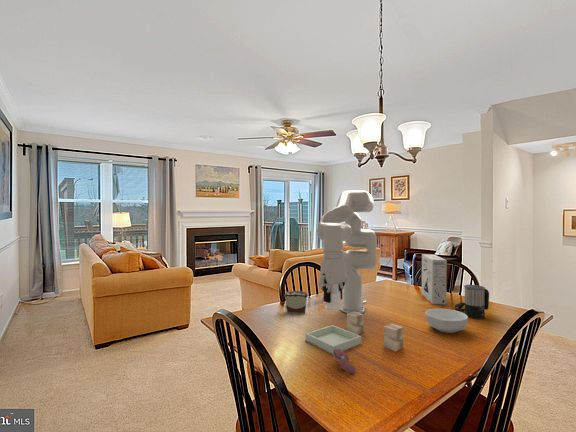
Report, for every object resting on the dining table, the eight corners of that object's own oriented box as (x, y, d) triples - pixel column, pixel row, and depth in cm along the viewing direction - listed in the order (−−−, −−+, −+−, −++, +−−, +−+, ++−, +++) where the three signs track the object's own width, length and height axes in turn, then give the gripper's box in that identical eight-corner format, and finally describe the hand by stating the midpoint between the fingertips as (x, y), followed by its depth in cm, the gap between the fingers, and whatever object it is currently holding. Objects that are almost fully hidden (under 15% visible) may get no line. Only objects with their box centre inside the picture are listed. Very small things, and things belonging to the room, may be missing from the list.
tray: (332, 331, 138) (332, 324, 138) (361, 343, 126) (361, 336, 126) (305, 340, 129) (305, 333, 129) (333, 354, 116) (333, 346, 116)
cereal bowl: (434, 320, 153) (434, 305, 152) (472, 329, 141) (473, 313, 141) (419, 329, 141) (419, 313, 140) (460, 340, 129) (460, 323, 129)
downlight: (345, 306, 129) (344, 281, 129) (342, 311, 122) (341, 285, 122) (325, 305, 132) (324, 281, 132) (321, 310, 125) (320, 284, 125)
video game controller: (337, 364, 112) (328, 347, 112) (349, 358, 113) (340, 341, 112) (345, 379, 102) (335, 361, 102) (357, 372, 103) (348, 354, 102)
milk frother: (481, 321, 152) (481, 289, 151) (446, 312, 164) (447, 284, 163) (491, 314, 161) (491, 285, 161) (458, 307, 173) (458, 280, 173)
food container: (308, 309, 169) (308, 290, 168) (308, 313, 163) (308, 294, 162) (285, 309, 170) (285, 290, 170) (284, 312, 164) (284, 293, 164)
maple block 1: (354, 329, 141) (354, 311, 141) (363, 332, 137) (363, 314, 137) (346, 332, 138) (346, 313, 138) (355, 335, 134) (355, 316, 134)
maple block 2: (391, 343, 126) (391, 323, 126) (403, 348, 122) (403, 327, 122) (384, 347, 123) (384, 326, 123) (395, 351, 119) (395, 330, 119)
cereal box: (421, 294, 200) (421, 254, 199) (434, 294, 199) (434, 254, 198) (432, 304, 178) (432, 259, 178) (446, 304, 177) (446, 259, 177)
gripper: (341, 252, 135) (341, 295, 135) (310, 256, 124) (310, 302, 125) (355, 254, 129) (354, 298, 129) (324, 258, 118) (324, 306, 119)
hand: (333, 300), depth 127 cm, fingers closed on downlight, 5 cm apart
